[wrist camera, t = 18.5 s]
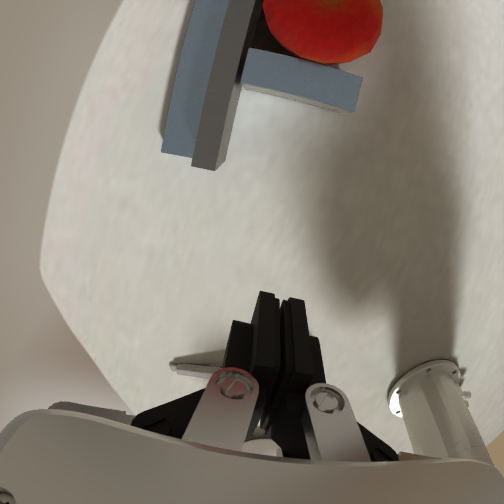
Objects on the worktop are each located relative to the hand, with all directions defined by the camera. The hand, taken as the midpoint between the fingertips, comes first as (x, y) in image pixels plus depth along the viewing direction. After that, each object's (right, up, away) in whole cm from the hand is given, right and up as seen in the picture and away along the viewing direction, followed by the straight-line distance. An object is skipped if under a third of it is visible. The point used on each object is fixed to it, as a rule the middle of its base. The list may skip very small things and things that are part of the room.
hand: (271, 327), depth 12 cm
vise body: (+1, +21, +15) cm, 26 cm away
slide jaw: (+3, +18, +15) cm, 24 cm away
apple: (+5, +24, +13) cm, 28 cm away
